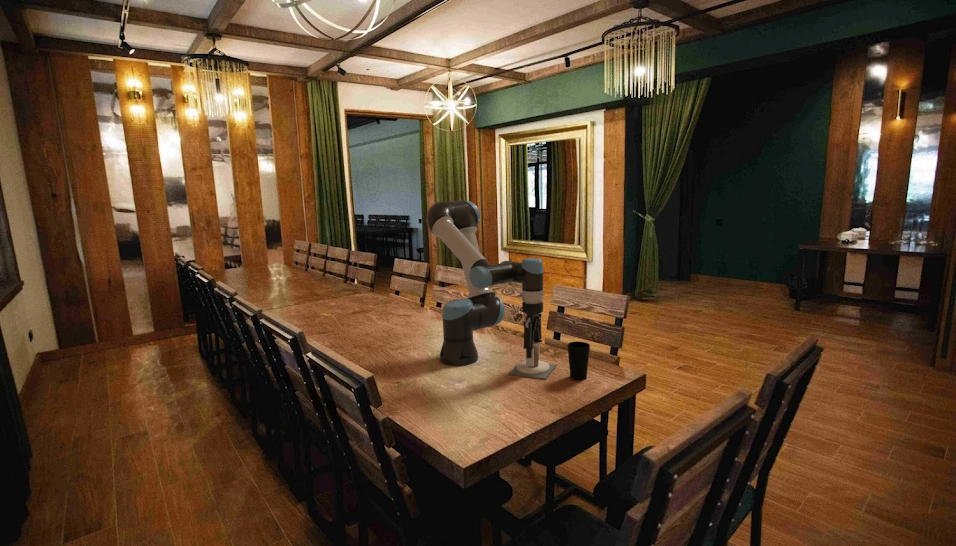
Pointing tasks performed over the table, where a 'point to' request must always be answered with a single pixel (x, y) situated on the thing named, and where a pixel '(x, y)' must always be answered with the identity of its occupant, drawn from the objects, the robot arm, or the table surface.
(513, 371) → the mat
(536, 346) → the lid
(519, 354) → the table surface
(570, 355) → the cup
